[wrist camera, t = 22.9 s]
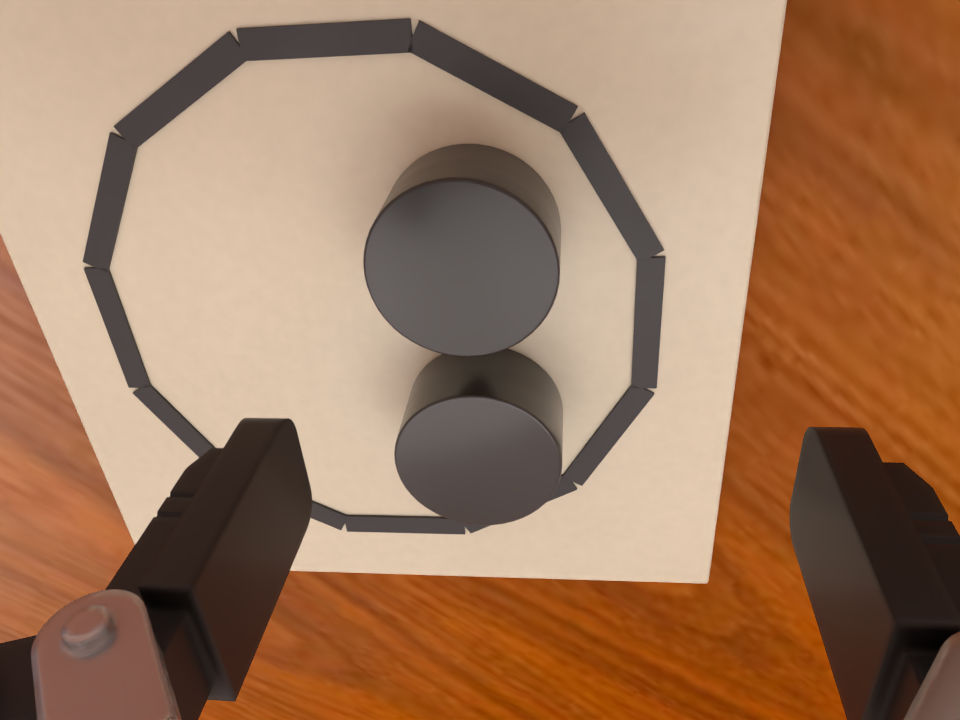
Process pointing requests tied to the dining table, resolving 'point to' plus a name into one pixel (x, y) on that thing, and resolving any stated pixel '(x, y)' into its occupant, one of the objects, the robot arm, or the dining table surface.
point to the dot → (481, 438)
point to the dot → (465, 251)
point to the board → (342, 236)
